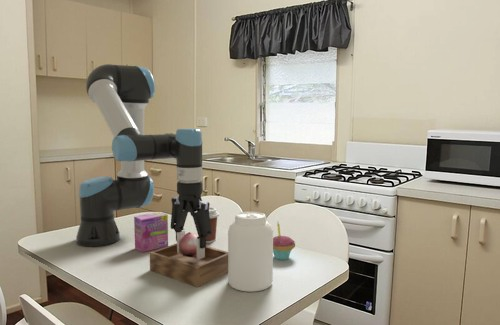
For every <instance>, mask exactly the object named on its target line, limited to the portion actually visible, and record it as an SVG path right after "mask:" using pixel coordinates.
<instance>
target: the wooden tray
mask: <svg viewBox="0 0 500 325" xmlns="http://www.w3.org/2000/svg"><path fill="white" fill-rule="evenodd" d="M149 271H152V272H154V273H157V274H159V275H162V276H165V277H168V278H170V279H173V280H175V281H176V280H177V281H179V282H182V283H186V284H187V285H191V286H194V287H196V288H199V287H201V286H202V285H205V284H207V283H208V282H209V283H210V282H211V281H213V280H215V279H218V278H220V277H221V276H224V275H226V274H228V251H226V250H223V249H219V248H215V247H211V246H207V245H206V247H205V257H204V258H201V259H199V260H198V259H197V257H195V258H193V257H186V256H183V255H182V253H180V254H178V253H177V242H176V243H173V244H171V245H168V246H166V247H162V248H158V249H157V250H156V249H155V250H152V251H150V252H149Z"/></svg>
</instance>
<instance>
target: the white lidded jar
mask: <svg viewBox="0 0 500 325" xmlns="http://www.w3.org/2000/svg"><path fill="white" fill-rule="evenodd" d="M227 238H228V239H227V247H228V248H227V252H228V273H227V281H228V284H229V286H230V287H231V288H233V289H235V290H237V291H242V292H247V293H248V292H250V293H251V292H260V291H264V290H266V289H268V288H270V287H271V285H272V283H273V278H274V276H273V275H274V272H273V270H274V268H273V267H274V253H273V238H274V230H273V226H272V224H271V223H269V221H268V220H267V216H266V214H265V213H264V212H260V211H242V212H239V213H236V215H235V217H234V221H232V223H231V224H230V225H229V227H228V231H227Z"/></svg>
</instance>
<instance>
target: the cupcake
mask: <svg viewBox="0 0 500 325" xmlns="http://www.w3.org/2000/svg"><path fill="white" fill-rule="evenodd" d="M276 224H277V234H278V235H277V236H276V235H275V236H273V258H275V259H276V260H279V261H282V260H288V259H289V258H290V255H291V252H292V251H293V249H294V248H296V242H295V240H293V239H292V238H291V237H289V236H286V235H281V228H280V227H281V226H280V223H279V222H277V223H276Z"/></svg>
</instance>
